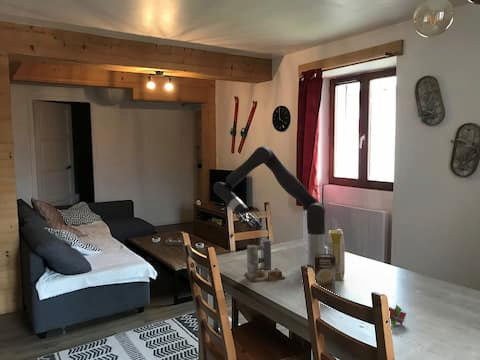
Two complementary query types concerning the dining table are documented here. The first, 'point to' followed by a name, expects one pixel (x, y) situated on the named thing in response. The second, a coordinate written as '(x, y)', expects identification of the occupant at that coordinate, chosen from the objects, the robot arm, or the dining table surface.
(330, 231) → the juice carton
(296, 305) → the dining table surface
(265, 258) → the grey clamp fixture
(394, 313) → the geometric puzzle
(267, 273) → the hinge jig
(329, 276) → the coffee box
